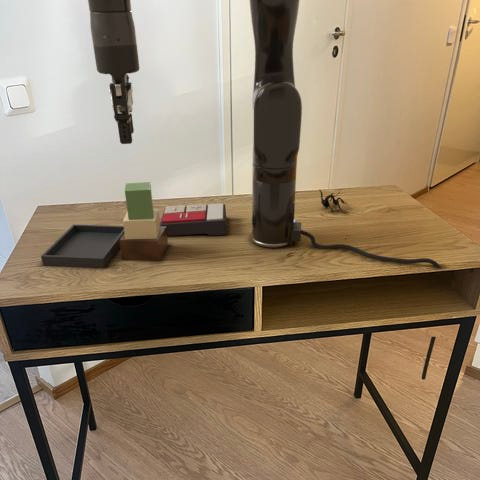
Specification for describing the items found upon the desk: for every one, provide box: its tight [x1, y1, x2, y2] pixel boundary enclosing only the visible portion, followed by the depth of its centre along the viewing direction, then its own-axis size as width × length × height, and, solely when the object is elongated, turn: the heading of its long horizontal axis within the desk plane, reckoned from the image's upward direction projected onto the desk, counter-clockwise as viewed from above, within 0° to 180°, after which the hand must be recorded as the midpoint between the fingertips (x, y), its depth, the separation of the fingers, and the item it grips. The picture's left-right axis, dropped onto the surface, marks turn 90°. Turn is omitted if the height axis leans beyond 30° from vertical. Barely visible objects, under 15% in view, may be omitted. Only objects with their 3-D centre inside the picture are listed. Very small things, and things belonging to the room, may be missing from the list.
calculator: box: [160, 202, 227, 237], centre depth 119 cm, size 11×4×15 cm
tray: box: [40, 224, 125, 269], centre depth 109 cm, size 13×17×2 cm
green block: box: [124, 181, 154, 220], centre depth 102 cm, size 5×5×6 cm
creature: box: [318, 189, 349, 213], centre depth 128 cm, size 8×5×8 cm
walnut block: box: [119, 226, 169, 262], centre depth 107 cm, size 8×8×4 cm
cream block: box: [122, 208, 161, 239], centre depth 105 cm, size 6×6×4 cm
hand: (127, 138), depth 96 cm, fingers open, 8 cm apart
